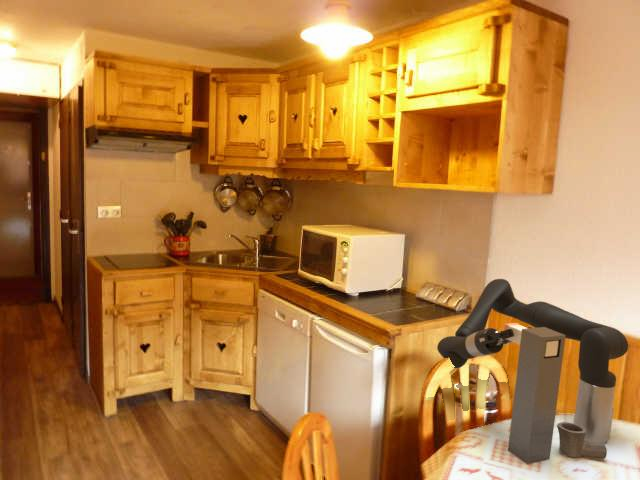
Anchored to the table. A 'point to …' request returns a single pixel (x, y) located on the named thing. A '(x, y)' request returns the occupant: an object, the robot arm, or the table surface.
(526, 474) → the table surface
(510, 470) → the table surface
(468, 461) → the table surface
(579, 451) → the pipe
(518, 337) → the block
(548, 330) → the grey tall rectangular block
